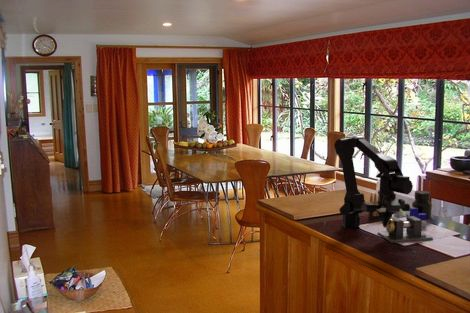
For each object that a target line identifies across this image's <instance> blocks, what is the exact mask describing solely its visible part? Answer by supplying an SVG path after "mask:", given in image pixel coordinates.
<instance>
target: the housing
mask: <svg viewBox="0 0 470 313" xmlns="http://www.w3.org/2000/svg"><path fill="white" fill-rule="evenodd" d="M390 219H393V220H394V221H395V225H396V229H395V232H394V233H388V232H387V230H385V231H377V235H378V236H380V237H381V238H383V239H384V240H387V241H388V242H390V243H404V242H405V243H406V242H420V241H422V242H423V241H433V240H434V237H433V236H431V235H429V234H427V233H425V232H423V231H422V228H423V227H422V220H420V219H418V218H416V217H414V216H410V217H407V220H406V222H413V228H405V229H404V228H403V227H404V222H405V221H404V220H403V219H400V218H398V217H395V216H394V217H393V216H392V218H390Z"/></svg>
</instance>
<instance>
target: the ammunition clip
mask: <svg viewBox="0 0 470 313" xmlns="http://www.w3.org/2000/svg"><path fill="white" fill-rule="evenodd" d="M377 194H378V193H376V192H375V193H374V195H373V193H372V192H371V193H370V195H369V202H371V203H373V204H375V205H379V204H378V203H377V201H379V194H378V195H377ZM392 217H393V215H392V216H391V217H390V218H392ZM367 218H368V219H372V220H373V219H380V216H379V214H378V212H376V211H375V212H368V216H367ZM380 220H381V219H380Z"/></svg>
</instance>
